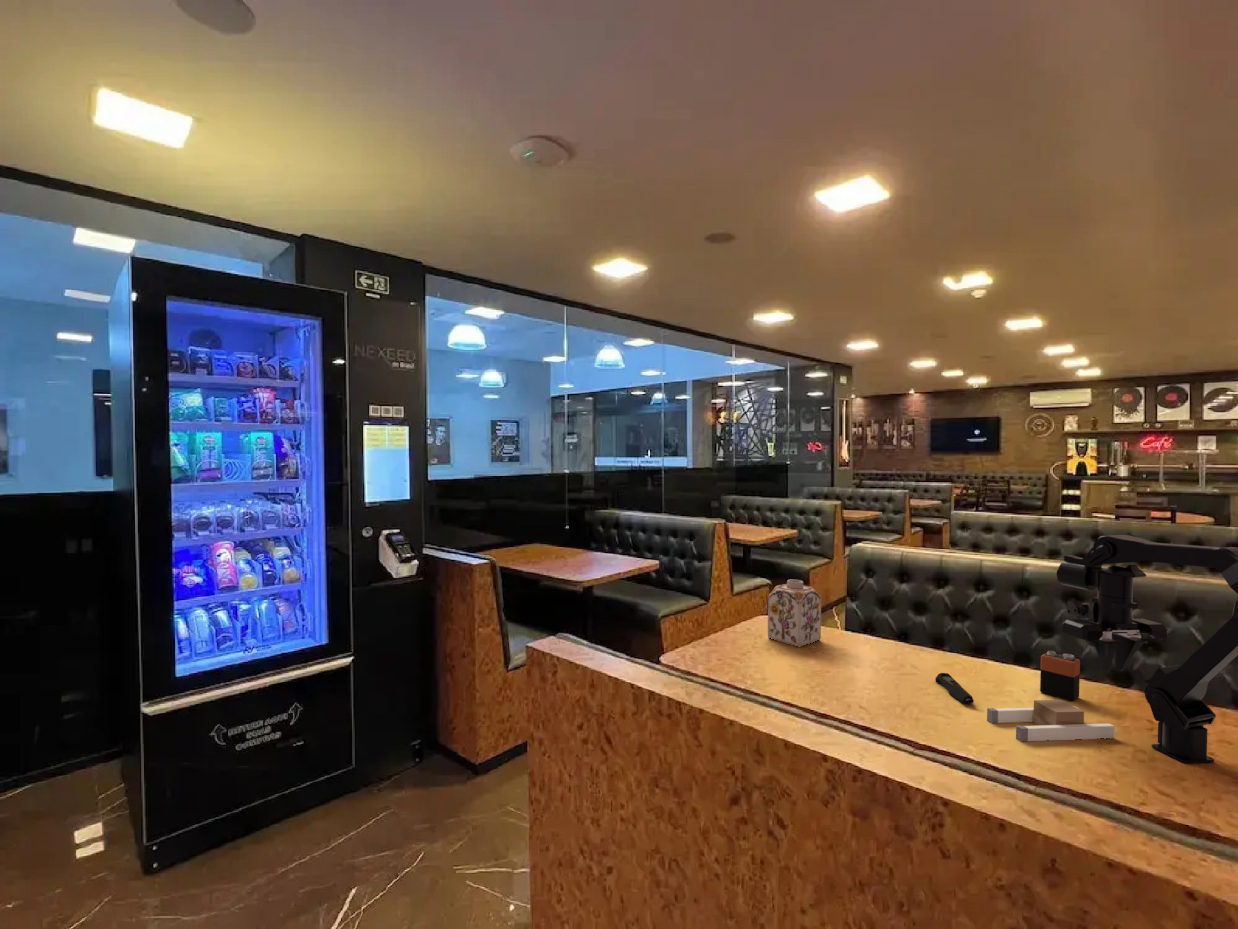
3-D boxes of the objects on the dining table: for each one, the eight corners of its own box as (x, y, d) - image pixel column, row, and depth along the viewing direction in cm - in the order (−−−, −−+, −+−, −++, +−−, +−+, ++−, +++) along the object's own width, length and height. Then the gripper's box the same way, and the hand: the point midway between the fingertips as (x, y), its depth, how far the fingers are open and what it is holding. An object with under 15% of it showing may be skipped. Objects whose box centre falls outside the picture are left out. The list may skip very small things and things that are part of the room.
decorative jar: (789, 632, 195) (789, 575, 195) (821, 640, 187) (823, 581, 186) (766, 639, 188) (767, 580, 187) (799, 648, 179) (800, 586, 179)
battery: (1073, 702, 142) (1074, 659, 141) (1039, 693, 147) (1040, 651, 147) (1079, 697, 144) (1080, 655, 144) (1046, 688, 150) (1047, 647, 149)
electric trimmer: (959, 708, 139) (960, 694, 139) (933, 682, 154) (934, 669, 154) (977, 709, 138) (978, 695, 138) (949, 683, 153) (950, 670, 153)
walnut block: (1083, 736, 125) (1084, 711, 124) (1055, 736, 124) (1056, 712, 124) (1059, 723, 131) (1060, 699, 130) (1033, 723, 130) (1033, 700, 130)
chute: (1114, 738, 123) (1115, 725, 123) (1021, 741, 121) (1021, 728, 121) (1074, 717, 133) (1074, 705, 133) (986, 720, 131) (987, 708, 131)
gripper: (1121, 586, 137) (1119, 656, 137) (1042, 587, 135) (1041, 658, 135) (1170, 598, 126) (1168, 674, 126) (1085, 599, 124) (1083, 676, 124)
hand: (1112, 670), depth 128 cm, fingers open, 3 cm apart
